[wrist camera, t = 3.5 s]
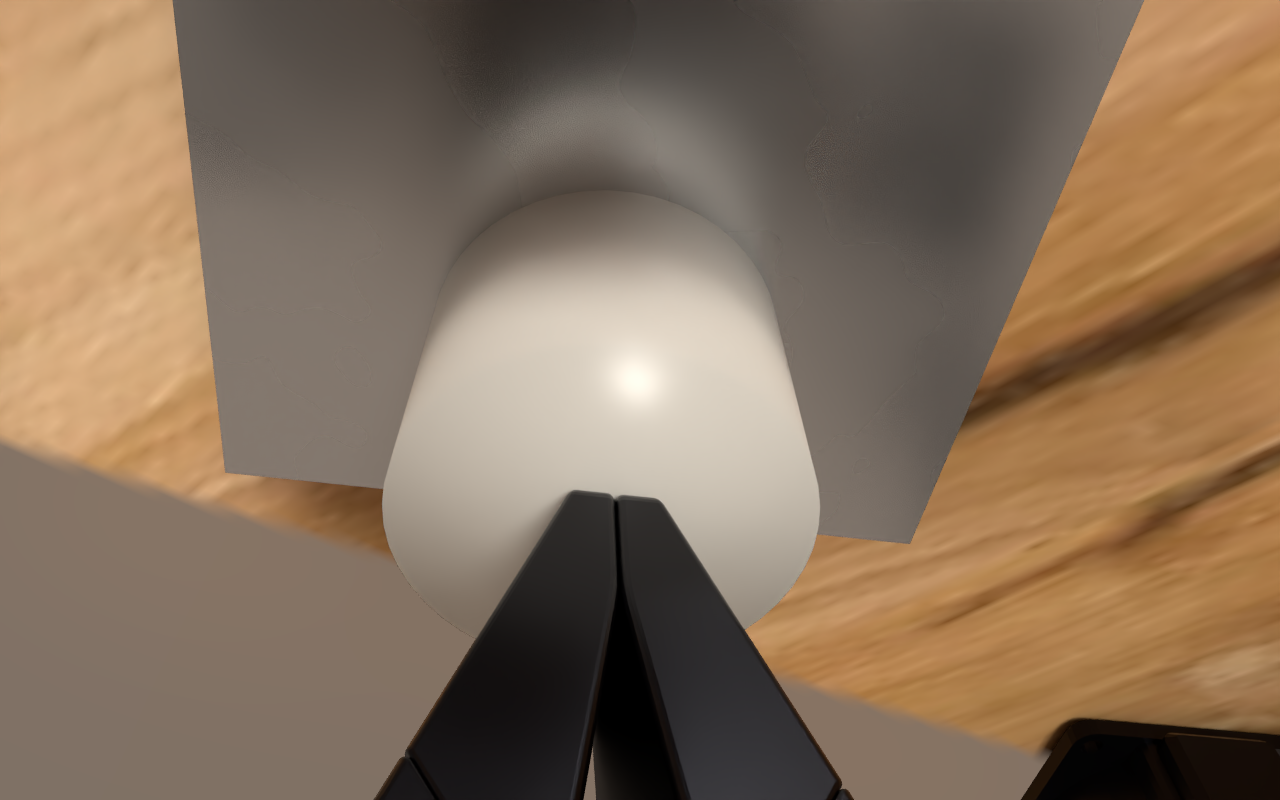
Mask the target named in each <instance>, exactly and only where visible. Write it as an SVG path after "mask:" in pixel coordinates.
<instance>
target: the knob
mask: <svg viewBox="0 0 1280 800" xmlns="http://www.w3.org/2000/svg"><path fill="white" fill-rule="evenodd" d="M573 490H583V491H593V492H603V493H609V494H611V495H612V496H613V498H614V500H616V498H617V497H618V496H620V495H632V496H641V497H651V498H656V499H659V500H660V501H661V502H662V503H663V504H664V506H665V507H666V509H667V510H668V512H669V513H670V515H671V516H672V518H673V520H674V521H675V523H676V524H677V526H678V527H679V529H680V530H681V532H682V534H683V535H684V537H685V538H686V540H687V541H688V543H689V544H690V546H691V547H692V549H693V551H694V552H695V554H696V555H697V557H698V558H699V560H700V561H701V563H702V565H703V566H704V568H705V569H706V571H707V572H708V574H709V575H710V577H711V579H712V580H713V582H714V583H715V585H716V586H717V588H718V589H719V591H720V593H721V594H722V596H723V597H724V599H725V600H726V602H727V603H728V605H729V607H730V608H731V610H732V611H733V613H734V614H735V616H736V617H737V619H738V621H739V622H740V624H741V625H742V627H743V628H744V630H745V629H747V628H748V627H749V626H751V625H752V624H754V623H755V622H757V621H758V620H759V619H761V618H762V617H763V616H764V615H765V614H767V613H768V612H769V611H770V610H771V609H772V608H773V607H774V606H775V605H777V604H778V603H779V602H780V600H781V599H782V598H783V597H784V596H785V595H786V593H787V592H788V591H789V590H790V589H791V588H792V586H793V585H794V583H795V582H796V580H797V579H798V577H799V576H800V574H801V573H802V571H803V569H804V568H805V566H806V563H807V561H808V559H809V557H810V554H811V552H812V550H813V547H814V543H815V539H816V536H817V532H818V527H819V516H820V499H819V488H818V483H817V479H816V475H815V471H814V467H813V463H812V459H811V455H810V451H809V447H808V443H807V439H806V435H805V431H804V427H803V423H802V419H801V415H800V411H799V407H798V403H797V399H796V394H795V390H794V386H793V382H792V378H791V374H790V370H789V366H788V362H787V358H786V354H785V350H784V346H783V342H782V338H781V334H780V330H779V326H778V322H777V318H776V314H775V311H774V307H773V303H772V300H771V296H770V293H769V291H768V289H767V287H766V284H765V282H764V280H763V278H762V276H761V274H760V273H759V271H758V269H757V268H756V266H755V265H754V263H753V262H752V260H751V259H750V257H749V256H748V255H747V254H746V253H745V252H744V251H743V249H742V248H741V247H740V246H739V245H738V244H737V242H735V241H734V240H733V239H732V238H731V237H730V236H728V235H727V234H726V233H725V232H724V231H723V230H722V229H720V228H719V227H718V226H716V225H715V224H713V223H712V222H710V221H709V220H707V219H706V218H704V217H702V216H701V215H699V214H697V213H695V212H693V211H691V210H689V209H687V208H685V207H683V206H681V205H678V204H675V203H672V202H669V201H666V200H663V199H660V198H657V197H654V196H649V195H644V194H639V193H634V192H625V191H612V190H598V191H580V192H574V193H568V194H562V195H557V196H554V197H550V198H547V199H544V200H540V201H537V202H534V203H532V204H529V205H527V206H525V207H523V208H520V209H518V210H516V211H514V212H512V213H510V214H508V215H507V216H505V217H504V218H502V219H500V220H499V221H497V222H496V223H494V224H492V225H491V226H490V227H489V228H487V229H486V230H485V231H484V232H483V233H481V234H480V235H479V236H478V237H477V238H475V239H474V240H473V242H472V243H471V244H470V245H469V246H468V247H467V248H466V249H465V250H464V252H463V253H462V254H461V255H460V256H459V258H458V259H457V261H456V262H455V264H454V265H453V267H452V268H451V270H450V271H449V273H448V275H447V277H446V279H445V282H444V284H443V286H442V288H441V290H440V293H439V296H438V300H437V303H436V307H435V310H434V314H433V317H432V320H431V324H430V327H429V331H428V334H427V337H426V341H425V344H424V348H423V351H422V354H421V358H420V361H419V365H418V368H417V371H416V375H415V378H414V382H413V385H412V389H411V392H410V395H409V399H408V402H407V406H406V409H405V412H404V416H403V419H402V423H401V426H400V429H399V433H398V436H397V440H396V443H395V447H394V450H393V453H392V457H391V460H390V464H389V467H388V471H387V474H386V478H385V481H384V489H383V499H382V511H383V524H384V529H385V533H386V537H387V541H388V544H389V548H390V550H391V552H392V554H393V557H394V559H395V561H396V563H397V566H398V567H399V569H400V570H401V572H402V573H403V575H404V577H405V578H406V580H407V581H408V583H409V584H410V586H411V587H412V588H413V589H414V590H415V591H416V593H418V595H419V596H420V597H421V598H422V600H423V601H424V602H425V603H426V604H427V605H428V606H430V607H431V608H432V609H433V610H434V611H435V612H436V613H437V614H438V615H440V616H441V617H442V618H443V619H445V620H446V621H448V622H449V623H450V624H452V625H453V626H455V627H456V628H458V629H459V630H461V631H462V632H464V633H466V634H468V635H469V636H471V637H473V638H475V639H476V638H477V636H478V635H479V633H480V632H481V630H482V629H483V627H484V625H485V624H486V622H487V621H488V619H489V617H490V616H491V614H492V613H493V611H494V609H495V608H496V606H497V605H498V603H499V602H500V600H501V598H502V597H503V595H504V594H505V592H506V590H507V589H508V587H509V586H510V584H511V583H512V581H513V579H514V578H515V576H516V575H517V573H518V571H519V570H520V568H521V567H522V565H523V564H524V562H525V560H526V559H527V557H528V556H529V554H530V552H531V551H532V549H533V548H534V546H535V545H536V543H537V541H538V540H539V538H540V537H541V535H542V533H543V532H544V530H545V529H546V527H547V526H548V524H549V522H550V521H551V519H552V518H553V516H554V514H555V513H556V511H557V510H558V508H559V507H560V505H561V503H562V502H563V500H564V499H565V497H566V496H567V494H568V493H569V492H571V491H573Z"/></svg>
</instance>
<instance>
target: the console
mask: <svg viewBox="0 0 1280 800" xmlns="http://www.w3.org/2000/svg"><path fill="white" fill-rule="evenodd" d="M1143 2H1144V0H173V8H174V17H175V26H176V35H177V44H178V53H179V62H180V71H181V79H182V88H183V97H184V106H185V115H186V124H187V133H188V142H189V151H190V160H191V169H192V178H193V187H194V196H195V205H196V214H197V223H198V232H199V241H200V250H201V259H202V268H203V277H204V285H205V294H206V303H207V312H208V321H209V330H210V339H211V348H212V357H213V366H214V375H215V384H216V393H217V402H218V411H219V420H220V429H221V438H222V447H223V456H224V465H225V473H234V474H244V475H253V476H263V477H273V478H282V479H292V480H301V481H311V482H320V483H330V484H340V485H349V486H359V487H368V488H378V489H384V481H385V478H386V474H387V471H388V467H389V464H390V460H391V457H392V453H393V450H394V447H395V443H396V440H397V436H398V433H399V429H400V426H401V423H402V419H403V416H404V412H405V409H406V406H407V402H408V399H409V395H410V392H411V389H412V385H413V382H414V378H415V375H416V371H417V368H418V365H419V361H420V358H421V354H422V351H423V348H424V344H425V341H426V337H427V334H428V331H429V327H430V324H431V320H432V317H433V314H434V310H435V307H436V303H437V300H438V296H439V293H440V290H441V288H442V286H443V284H444V282H445V279H446V277H447V275H448V273H449V271H450V270H451V268H452V267H453V265H454V264H455V262H456V261H457V259H458V258H459V256H460V255H461V254H462V253H463V252H464V250H465V249H466V248H467V247H468V246H469V245H470V244H471V243H472V242H473V240H474V239H475V238H477V237H478V236H479V235H480V234H481V233H483V232H484V231H485V230H486V229H487V228H489V227H490V226H491V225H492V224H494V223H496V222H497V221H499V220H500V219H502V218H504V217H505V216H507V215H508V214H510V213H512V212H514V211H516V210H518V209H520V208H523V207H525V206H527V205H529V204H532V203H534V202H537V201H540V200H544V199H547V198H550V197H554V196H557V195H562V194H568V193H574V192H580V191H598V190H612V191H625V192H634V193H639V194H644V195H649V196H654V197H657V198H660V199H663V200H666V201H669V202H672V203H675V204H678V205H681V206H683V207H685V208H687V209H689V210H691V211H693V212H695V213H697V214H699V215H701V216H702V217H704V218H706V219H707V220H709V221H710V222H712V223H713V224H715V225H716V226H718V227H719V228H720V229H722V230H723V231H724V232H725V233H726V234H727V235H728V236H730V237H731V238H732V239H733V240H734V241H735V242H737V244H738V245H739V246H740V247H741V248H742V249H743V251H744V252H745V253H746V254H747V255H748V256H749V257H750V259H751V260H752V262H753V263H754V265H755V266H756V268H757V269H758V271H759V273H760V274H761V276H762V278H763V280H764V282H765V284H766V287H767V289H768V291H769V293H770V296H771V300H772V303H773V307H774V311H775V314H776V318H777V322H778V326H779V330H780V334H781V338H782V342H783V346H784V350H785V354H786V358H787V362H788V366H789V370H790V374H791V378H792V382H793V386H794V390H795V394H796V399H797V403H798V407H799V411H800V415H801V419H802V423H803V427H804V431H805V435H806V439H807V443H808V447H809V451H810V455H811V459H812V463H813V467H814V471H815V475H816V479H817V483H818V488H819V499H820V516H819V527H818V532H817V534H819V535H829V536H838V537H848V538H858V539H867V540H877V541H886V542H896V543H906V544H910V542H911V540H912V538H913V535H914V533H915V531H916V528H917V526H918V524H919V521H920V519H921V517H922V514H923V512H924V510H925V507H926V505H927V503H928V501H929V498H930V496H931V494H932V491H933V489H934V487H935V484H936V482H937V480H938V477H939V475H940V473H941V470H942V468H943V466H944V463H945V461H946V459H947V456H948V454H949V452H950V449H951V447H952V445H953V443H954V440H955V438H956V436H957V433H958V431H959V429H960V426H961V424H962V422H963V419H964V417H965V415H966V412H967V410H968V408H969V405H970V403H971V401H972V398H973V396H974V394H975V391H976V389H977V387H978V385H979V382H980V380H981V378H982V375H983V373H984V371H985V368H986V366H987V364H988V361H989V359H990V357H991V354H992V352H993V350H994V347H995V345H996V343H997V340H998V338H999V336H1000V333H1001V331H1002V329H1003V327H1004V324H1005V322H1006V320H1007V317H1008V315H1009V313H1010V310H1011V308H1012V306H1013V303H1014V301H1015V299H1016V296H1017V294H1018V292H1019V289H1020V287H1021V285H1022V282H1023V280H1024V278H1025V275H1026V273H1027V271H1028V269H1029V266H1030V264H1031V262H1032V259H1033V257H1034V255H1035V252H1036V250H1037V248H1038V245H1039V243H1040V241H1041V238H1042V236H1043V234H1044V231H1045V229H1046V227H1047V224H1048V222H1049V220H1050V217H1051V215H1052V213H1053V211H1054V208H1055V206H1056V204H1057V201H1058V199H1059V197H1060V194H1061V192H1062V190H1063V187H1064V185H1065V183H1066V180H1067V178H1068V176H1069V173H1070V171H1071V169H1072V166H1073V164H1074V162H1075V159H1076V157H1077V155H1078V153H1079V150H1080V148H1081V146H1082V143H1083V141H1084V139H1085V136H1086V134H1087V132H1088V129H1089V127H1090V125H1091V122H1092V120H1093V118H1094V115H1095V113H1096V111H1097V108H1098V106H1099V104H1100V101H1101V99H1102V97H1103V95H1104V92H1105V90H1106V88H1107V85H1108V83H1109V81H1110V78H1111V76H1112V74H1113V71H1114V69H1115V67H1116V64H1117V62H1118V60H1119V57H1120V55H1121V53H1122V50H1123V48H1124V46H1125V43H1126V41H1127V39H1128V36H1129V34H1130V32H1131V30H1132V27H1133V25H1134V23H1135V20H1136V18H1137V16H1138V13H1139V11H1140V9H1141V6H1142V4H1143Z"/></svg>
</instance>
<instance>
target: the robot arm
mask: <svg viewBox="0 0 1280 800" xmlns="http://www.w3.org/2000/svg"><path fill="white" fill-rule="evenodd" d="M592 747H593V753H594V754H593V755H594V756H593V757H594V771H595V786H596V800H854V799H853V797H852V796H851V794H850V792H849V791H848V790H846V789H841V790H840V788H841V786H842V781H841V779H840V778H839V776H838V775H837V773H836V771H835V770H834V768H833V767H832V765H831V764H830V762H829V760H828V759H827V757H826V756H825V754H824V753H823V751H822V750H821V748H820V746H819V745H818V744H817V742H816V740H815V739H814V737H813V736H812V734H811V733H810V731H809V730H808V728H807V727H806V725H805V723H804V722H803V720H802V719H801V717H800V716H799V714H798V712H797V711H796V709H795V708H794V706H793V705H792V703H791V702H790V700H789V698H788V697H787V695H786V694H785V692H784V691H783V689H782V687H781V686H780V684H779V683H778V681H777V680H776V678H775V677H774V675H773V673H772V672H771V670H770V669H769V667H768V666H767V664H766V663H765V661H764V659H763V658H762V656H761V655H760V653H759V652H758V650H757V649H756V647H755V645H754V644H753V642H752V641H751V639H750V638H749V636H748V635H747V633H746V631H745V630H744V628H743V627H742V625H741V624H740V622H739V621H738V619H737V617H736V616H735V614H734V613H733V611H732V610H731V608H730V607H729V605H728V603H727V602H726V600H725V599H724V597H723V596H722V594H721V593H720V591H719V589H718V588H717V586H716V585H715V583H714V582H713V580H712V579H711V577H710V575H709V574H708V572H707V571H706V569H705V568H704V566H703V565H702V563H701V561H700V560H699V558H698V557H697V555H696V554H695V552H694V551H693V549H692V547H691V546H690V544H689V543H688V541H687V540H686V538H685V537H684V535H683V534H682V532H681V530H680V529H679V527H678V526H677V524H676V523H675V521H674V520H673V518H672V516H671V515H670V513H669V512H668V510H667V509H666V507H665V506H664V504H663V503H662V502H661V501H660V500H659V499H656V498H651V497H641V496H632V495H620V496H618V497H617V498H616V500H614V498H613V496H612V495H611V494H609V493H603V492H593V491H583V490H573V491H571V492H569V493H568V494H567V496H566V497H565V499H564V500H563V502H562V503H561V505H560V507H559V508H558V510H557V511H556V513H555V514H554V516H553V518H552V519H551V521H550V522H549V524H548V526H547V527H546V529H545V530H544V532H543V533H542V535H541V537H540V538H539V540H538V541H537V543H536V545H535V546H534V548H533V549H532V551H531V552H530V554H529V556H528V557H527V559H526V560H525V562H524V564H523V565H522V567H521V568H520V570H519V571H518V573H517V575H516V576H515V578H514V579H513V581H512V583H511V584H510V586H509V587H508V589H507V590H506V592H505V594H504V595H503V597H502V598H501V600H500V602H499V603H498V605H497V606H496V608H495V609H494V611H493V613H492V614H491V616H490V617H489V619H488V621H487V622H486V624H485V625H484V627H483V629H482V630H481V632H480V633H479V635H478V636H477V638H476V640H475V641H474V643H473V644H472V646H471V648H470V649H469V651H468V652H467V654H466V655H465V657H464V659H463V660H462V662H461V664H460V665H459V667H458V668H457V670H456V671H455V673H454V675H453V676H452V678H451V679H450V681H449V682H448V684H447V686H446V687H445V689H444V690H443V692H442V694H441V695H440V697H439V698H438V700H437V701H436V703H435V705H434V706H433V708H432V709H431V711H430V712H429V714H428V716H427V717H426V719H425V720H424V722H423V724H422V725H421V727H420V728H419V730H418V732H417V733H416V735H415V736H414V738H413V739H412V741H411V743H410V745H409V746H408V747H407V749H406V752H405V757H402V758H400V759H399V761H398V762H397V764H396V765H395V767H394V769H393V770H392V772H391V773H390V775H389V777H388V778H387V780H386V781H385V783H384V784H383V786H382V788H381V789H380V791H379V792H378V794H377V795H376V797H375V798H374V800H583V799H584V793H585V787H586V782H587V775H588V770H589V764H590V759H591V753H592ZM1021 800H1280V736H1277V735H1266V734H1254V733H1243V732H1231V731H1220V730H1208V729H1197V728H1185V727H1173V726H1162V725H1150V724H1139V723H1127V722H1116V721H1104V720H1084V721H1080V722H1077V723H1075V724H1074V725H1072V726H1070V727H1069V728H1068V729H1067V730H1066V732H1065V733H1064V735H1063V736H1062V738H1061V739H1060V741H1059V742H1058V744H1057V745H1056V747H1055V748H1054V750H1053V751H1052V753H1051V755H1050V756H1049V758H1048V759H1047V761H1046V762H1045V764H1044V765H1043V767H1042V768H1041V770H1040V771H1039V773H1038V774H1037V776H1036V777H1035V779H1034V781H1033V782H1032V784H1031V785H1030V787H1029V788H1028V790H1027V791H1026V793H1025V794H1024V796H1023V797H1022V799H1021Z"/></svg>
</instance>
